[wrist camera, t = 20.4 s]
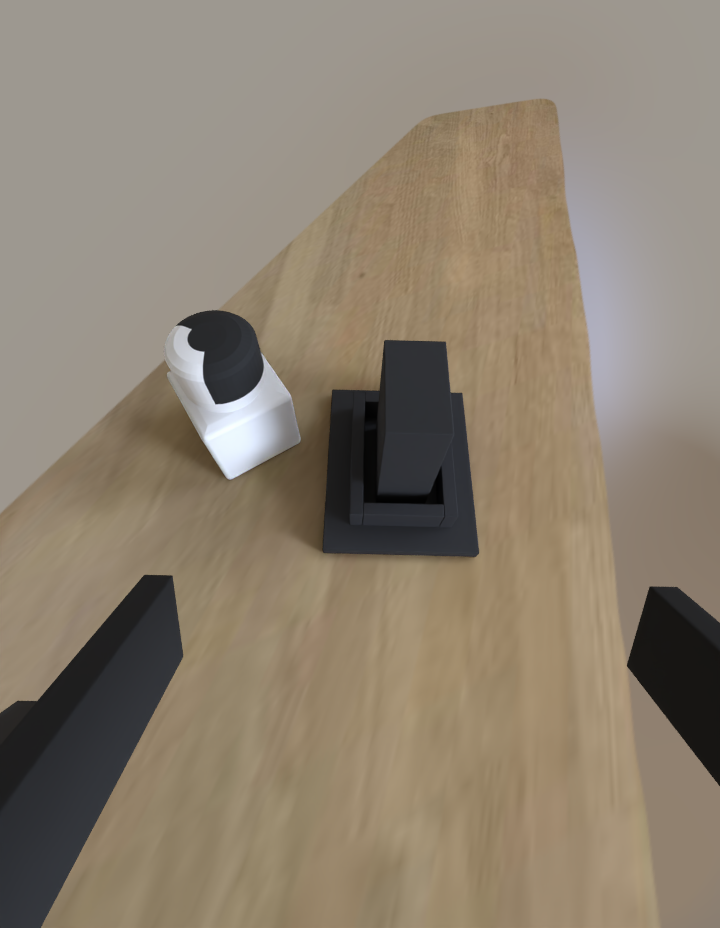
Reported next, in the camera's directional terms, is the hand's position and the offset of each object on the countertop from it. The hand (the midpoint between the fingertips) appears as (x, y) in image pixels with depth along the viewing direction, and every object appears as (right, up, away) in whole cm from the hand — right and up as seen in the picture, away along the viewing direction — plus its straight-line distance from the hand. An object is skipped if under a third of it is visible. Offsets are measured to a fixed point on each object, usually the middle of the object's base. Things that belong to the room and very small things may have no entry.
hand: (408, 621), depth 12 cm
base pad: (+2, +4, +25) cm, 25 cm away
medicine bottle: (-11, +7, +26) cm, 30 cm away
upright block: (+2, +4, +24) cm, 24 cm away
